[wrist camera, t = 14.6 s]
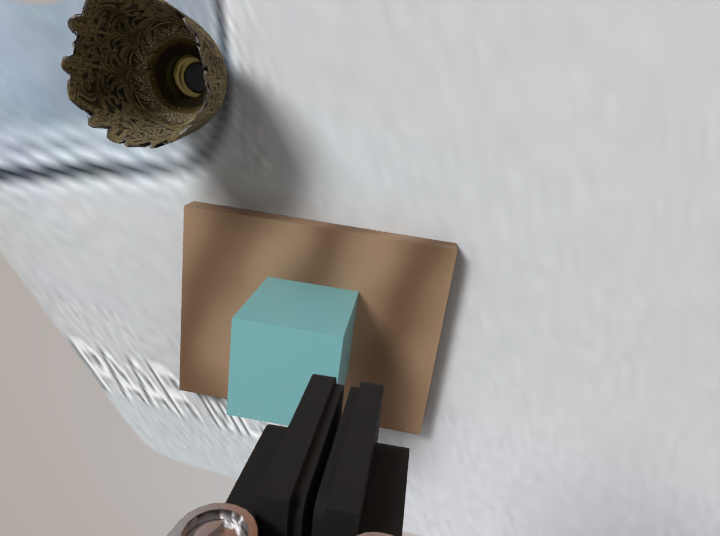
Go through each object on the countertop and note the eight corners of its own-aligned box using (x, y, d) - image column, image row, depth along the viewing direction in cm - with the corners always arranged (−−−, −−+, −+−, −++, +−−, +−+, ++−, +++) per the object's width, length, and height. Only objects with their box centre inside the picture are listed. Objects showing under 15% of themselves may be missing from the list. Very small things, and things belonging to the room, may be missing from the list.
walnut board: (456, 243, 35) (457, 249, 33) (420, 422, 39) (420, 434, 38) (193, 201, 36) (184, 205, 34) (188, 379, 40) (179, 389, 39)
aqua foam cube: (358, 291, 35) (343, 336, 28) (347, 373, 37) (330, 433, 30) (267, 276, 35) (231, 318, 29) (261, 358, 37) (226, 414, 31)
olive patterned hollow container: (232, 156, 35) (179, 173, 27) (129, 110, 34) (46, 113, 27) (270, 43, 32) (223, 26, 25) (159, -8, 32) (78, -40, 24)
